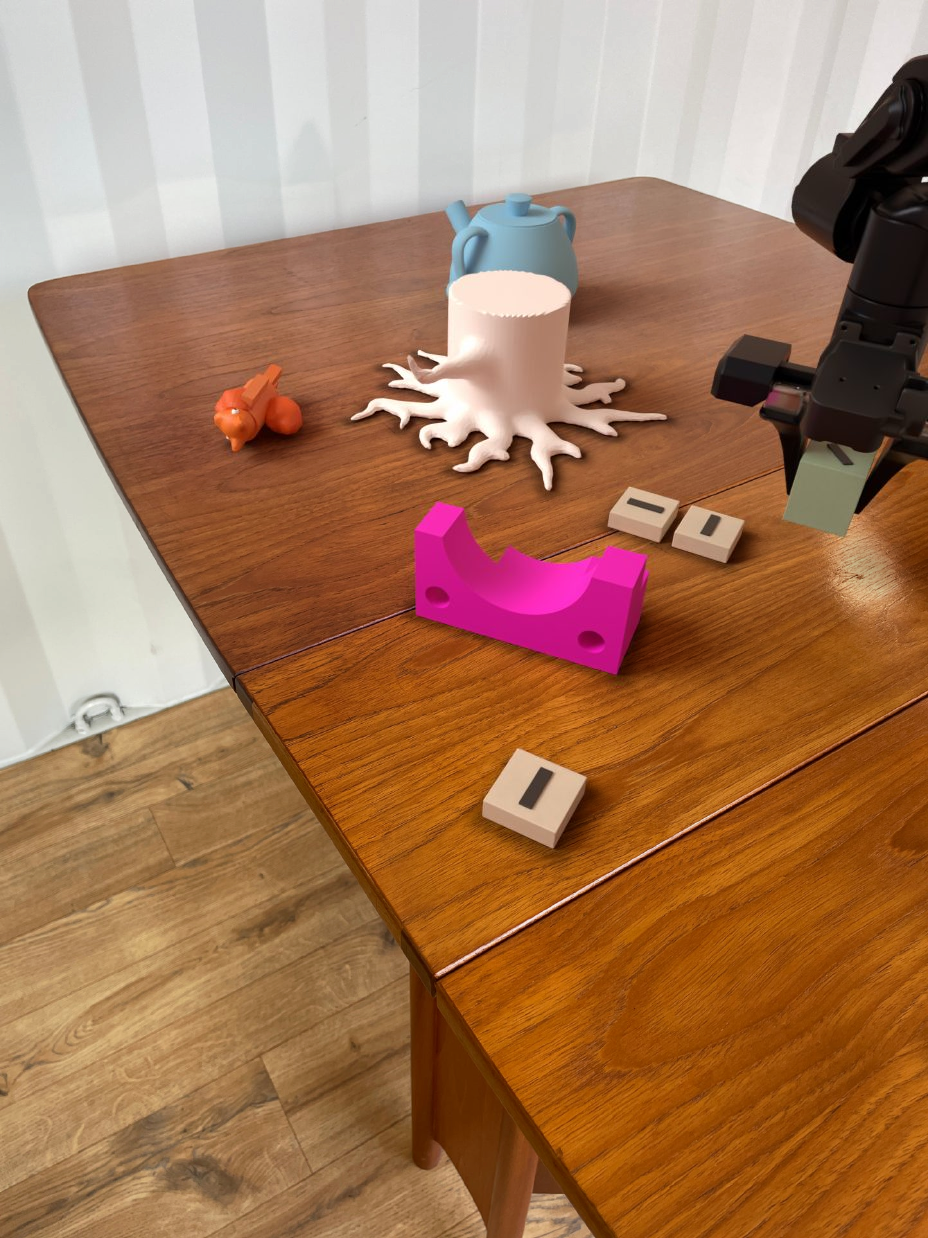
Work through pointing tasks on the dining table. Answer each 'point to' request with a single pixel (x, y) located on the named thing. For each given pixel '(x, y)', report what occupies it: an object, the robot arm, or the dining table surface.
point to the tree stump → (505, 372)
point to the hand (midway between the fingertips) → (822, 502)
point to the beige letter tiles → (693, 534)
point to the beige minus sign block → (534, 797)
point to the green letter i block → (828, 487)
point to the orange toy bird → (256, 409)
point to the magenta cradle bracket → (529, 593)
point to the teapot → (514, 240)
